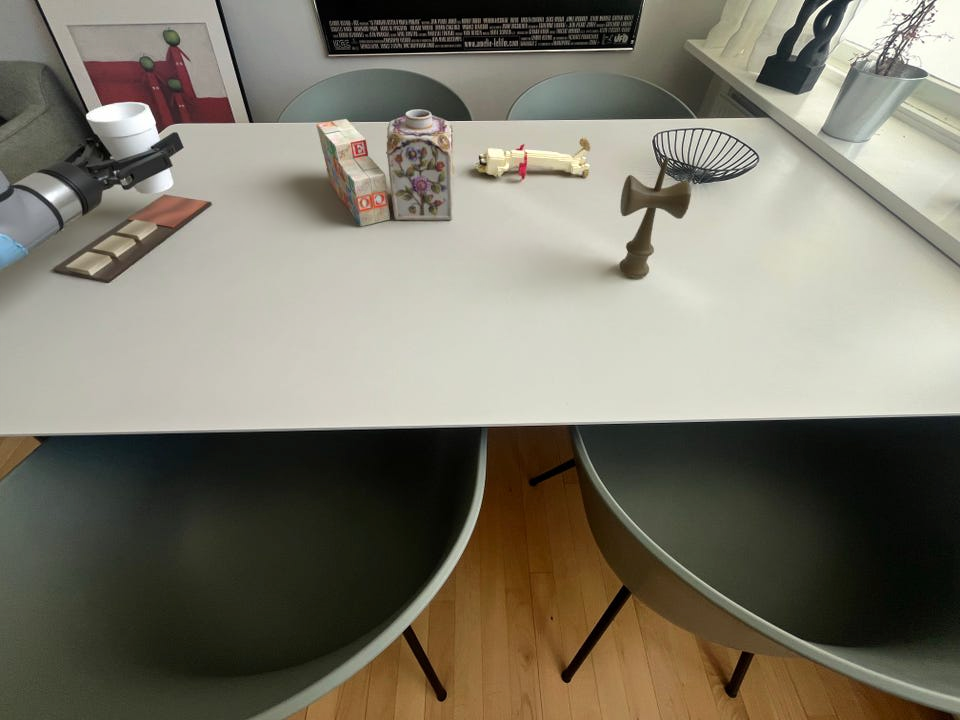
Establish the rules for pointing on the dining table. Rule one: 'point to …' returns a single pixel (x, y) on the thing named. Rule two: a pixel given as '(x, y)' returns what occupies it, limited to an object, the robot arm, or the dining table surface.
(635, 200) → the kendama
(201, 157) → the dining table surface
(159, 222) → the word board
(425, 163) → the decorative jar
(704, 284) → the dining table surface
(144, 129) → the foam cup
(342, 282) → the dining table surface
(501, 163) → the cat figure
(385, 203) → the stack of blocks
